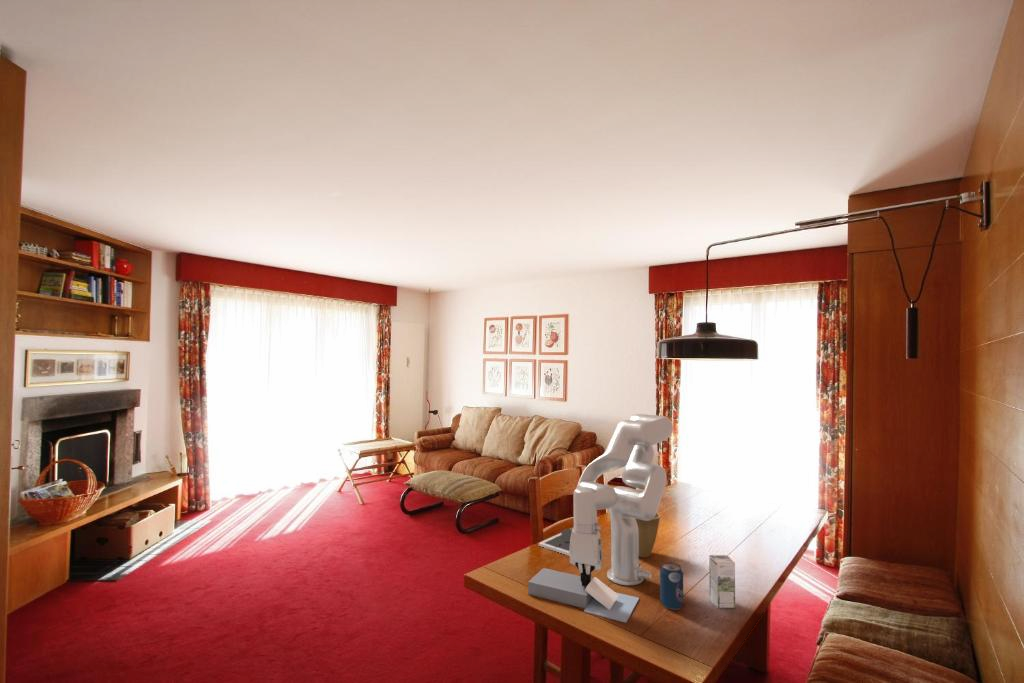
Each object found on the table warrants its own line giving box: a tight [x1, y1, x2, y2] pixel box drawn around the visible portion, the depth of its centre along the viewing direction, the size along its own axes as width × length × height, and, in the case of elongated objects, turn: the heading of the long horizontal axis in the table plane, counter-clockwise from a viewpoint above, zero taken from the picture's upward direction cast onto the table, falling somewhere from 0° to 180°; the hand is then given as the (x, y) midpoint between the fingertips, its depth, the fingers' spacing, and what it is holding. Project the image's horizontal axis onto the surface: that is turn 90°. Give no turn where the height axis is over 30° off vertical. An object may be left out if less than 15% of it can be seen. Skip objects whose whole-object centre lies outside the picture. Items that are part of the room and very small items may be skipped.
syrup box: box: [708, 554, 736, 609], centre depth 150 cm, size 6×6×14 cm
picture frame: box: [538, 528, 573, 557], centre depth 200 cm, size 16×3×21 cm
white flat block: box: [585, 576, 619, 610], centre depth 150 cm, size 9×7×2 cm
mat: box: [583, 591, 640, 624], centre depth 149 cm, size 13×16×1 cm
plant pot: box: [635, 512, 661, 559], centre depth 190 cm, size 15×15×16 cm
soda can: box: [659, 562, 685, 611], centre depth 149 cm, size 7×7×12 cm
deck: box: [527, 567, 594, 610], centre depth 157 cm, size 20×12×4 cm, turn 62°
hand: (585, 584), depth 153 cm, fingers closed
